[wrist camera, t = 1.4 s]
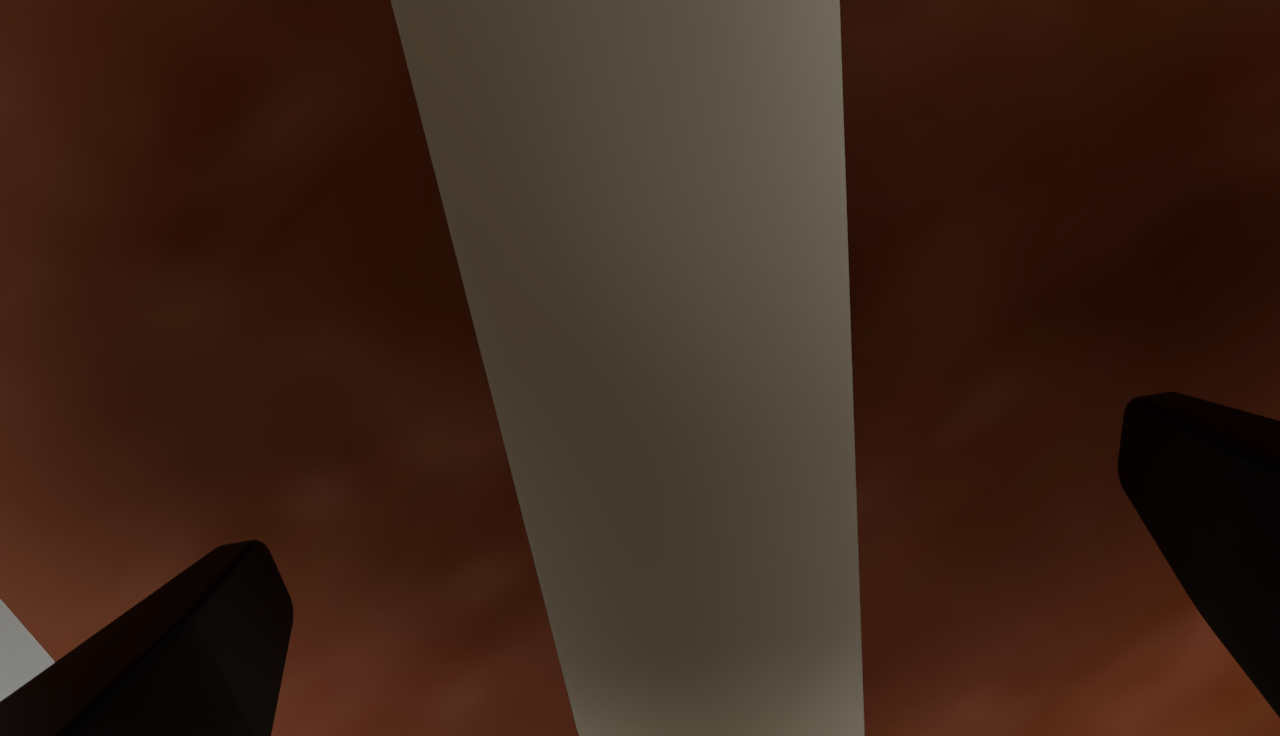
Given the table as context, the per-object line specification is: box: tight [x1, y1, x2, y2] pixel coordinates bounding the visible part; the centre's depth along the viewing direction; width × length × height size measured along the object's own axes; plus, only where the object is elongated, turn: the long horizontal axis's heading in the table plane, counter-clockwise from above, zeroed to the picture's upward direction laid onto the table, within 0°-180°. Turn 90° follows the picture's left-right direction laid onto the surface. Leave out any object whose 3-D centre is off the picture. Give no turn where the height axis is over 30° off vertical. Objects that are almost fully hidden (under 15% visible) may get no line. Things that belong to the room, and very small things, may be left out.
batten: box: [391, 0, 865, 736], centre depth 10 cm, size 3×18×5 cm, turn 8°
